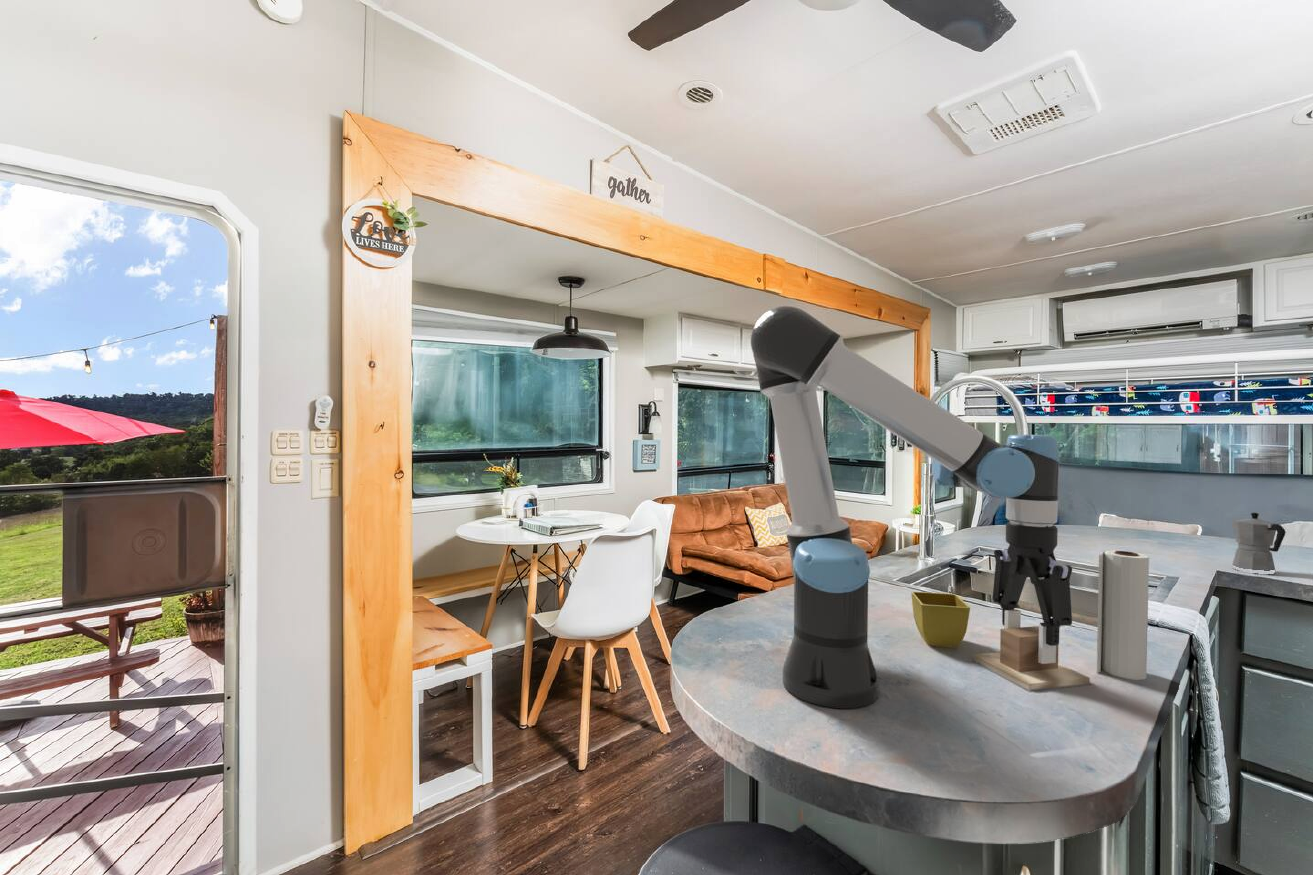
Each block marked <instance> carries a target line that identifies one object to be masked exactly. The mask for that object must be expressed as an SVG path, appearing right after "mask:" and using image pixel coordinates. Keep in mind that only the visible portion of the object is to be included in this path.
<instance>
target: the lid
mask: <svg viewBox="0 0 1313 875" xmlns="http://www.w3.org/2000/svg"><path fill="white" fill-rule="evenodd" d="M999 643H1000V644H999V648H1000V649H999V652H998V651H997V652H996V651H995V652H986V653H985V652H984V653H976V654H972V656H973V657H972V659H973V660H974V661H976V662H978V663H980V664H982V665H984V666H985V667H987V668H989V669H991V670H993V671H995V672H997V673H998V674H1000V675H1002V676H1004V677H1006V678H1008V679H1010V680H1011V681H1013V682H1015V683H1017V684H1019V685H1021V686H1023V687H1024V688H1026V689H1028V690H1033V689H1043V688H1052V687H1062V686H1072V685H1081V684H1090V683H1091V682H1090V681H1091V680H1090V678H1091V677H1090V676H1087V675H1084V674H1082V673H1080V672H1079V671H1076V670H1074V669H1072V668H1069V667H1067V666H1065V665H1063V664H1061V663H1059V644H1060V643H1059V644H1058V645H1056V663H1047V664H1041V663H1039V662H1038V653H1039V625H1034V626H1025V627H1024V626H1022V627H1021V626H1020V628H1007V629H1004V628H1000V642H999Z"/></svg>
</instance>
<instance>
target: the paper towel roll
mask: <svg viewBox="0 0 1313 875" xmlns="http://www.w3.org/2000/svg"><path fill="white" fill-rule="evenodd" d="M1149 570H1150V556H1149V555H1147V554H1143V553H1141V552H1140V553H1138V552H1133V551H1127V550H1105V551H1102V552H1101V553H1099V555H1098V584H1097V585H1098V593H1097V632H1096V634H1097V638H1096V641H1097V642H1096V674H1099V673H1101V672H1102V671H1101V670H1104V672H1105V673H1108V674H1110V675H1112V676H1115V677H1119V678H1122V679H1127V680H1134V681H1143V680H1146V679H1147V675H1148V673H1147V667H1148V666H1147V665H1148V624H1149V621H1148V620H1149V618H1148V617H1149V583H1150V582H1149V578H1150V577H1149V576H1150V574H1149V572H1150V571H1149Z"/></svg>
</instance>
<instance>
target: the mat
mask: <svg viewBox="0 0 1313 875" xmlns="http://www.w3.org/2000/svg"><path fill="white" fill-rule="evenodd" d="M968 660H970V661H971V662H973V663H975V664H977V665H978V666H980V667H982V668H984V669H985V670H987V671H989V672H992V673H993V674H995V675H996V676H999V677H1000V678H1003V679H1004V680H1006V681H1008V682H1010V683H1012V684H1013V685H1015V686H1017V687H1019V688H1021V689H1023V690H1024V691H1027V692H1028V693H1032V692H1033V693H1034V692H1040V691H1041V692H1043V691H1050V690H1060V689H1061V690H1063V689H1070V688H1071V689H1072V688H1079V687H1080V688H1081V687H1089V686H1096V684H1094V683H1093V682H1090V684H1081V685H1072V686H1062V687H1052V688H1043V689H1033V690H1028V689H1026V688H1024V687H1023V686H1021V685H1019V684H1017V683H1015V682H1013V681H1011V680H1010V679H1008V678H1006V677H1004V676H1002V675H1000V674H998V673H997V672H995V671H993V670H991V669H989V668H987V667H985V666H984V665H982V664H980V663H978V662H976V661H974V660H973V658H969V659H968Z"/></svg>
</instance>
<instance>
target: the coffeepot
mask: <svg viewBox="0 0 1313 875" xmlns="http://www.w3.org/2000/svg"><path fill="white" fill-rule="evenodd" d="M1259 515H1260V514H1259V513H1257V512H1250V516H1251V518H1242V519H1232V525H1233V532H1234V538H1235V542H1237V543H1238V544H1237V545H1238V548H1236V551H1235V552H1234V557H1233V560H1232V565H1234V566H1236V567H1239V568H1243V569H1252V570H1264V571H1270V570H1275V571H1276V568H1275V562H1274V558H1273V553H1272V552H1275V553H1276V552H1279V549H1280V548H1281V545H1282V542H1283V540H1284V538H1285V536H1286V529H1284V527H1283V526H1282V525H1281V524H1278V523H1273V522H1270V521H1266V520H1262V519H1259V518H1258V517H1259ZM1275 536H1276V538H1275ZM1272 546H1273V547H1272ZM1232 565H1231V566H1232Z"/></svg>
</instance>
